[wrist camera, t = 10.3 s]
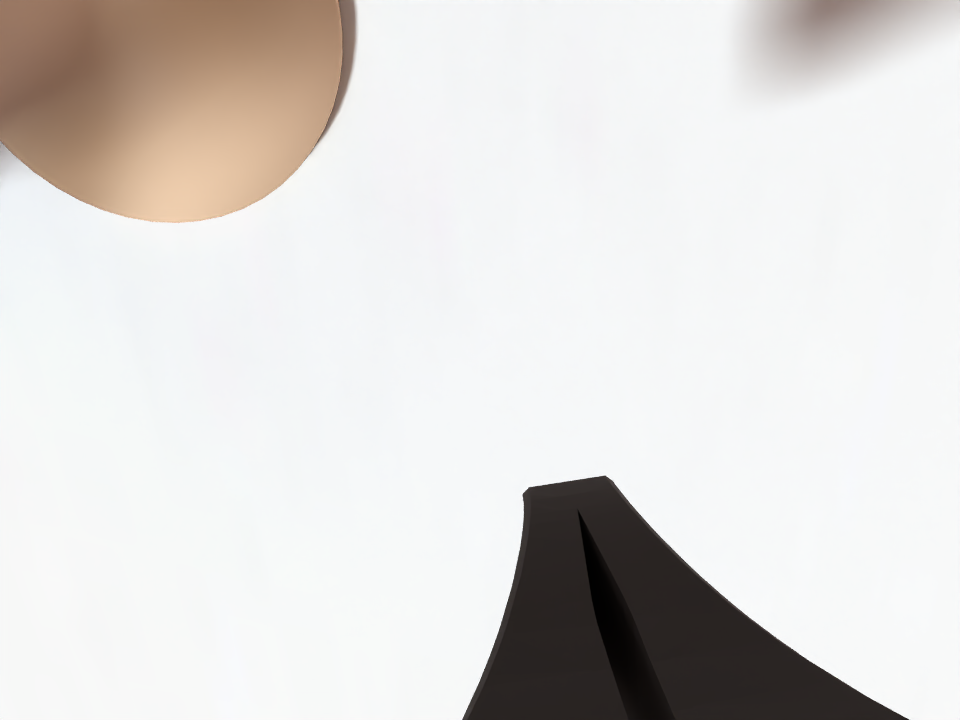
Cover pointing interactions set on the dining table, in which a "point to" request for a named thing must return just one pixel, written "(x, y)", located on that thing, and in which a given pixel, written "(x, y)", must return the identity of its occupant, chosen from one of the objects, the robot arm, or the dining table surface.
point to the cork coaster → (167, 98)
